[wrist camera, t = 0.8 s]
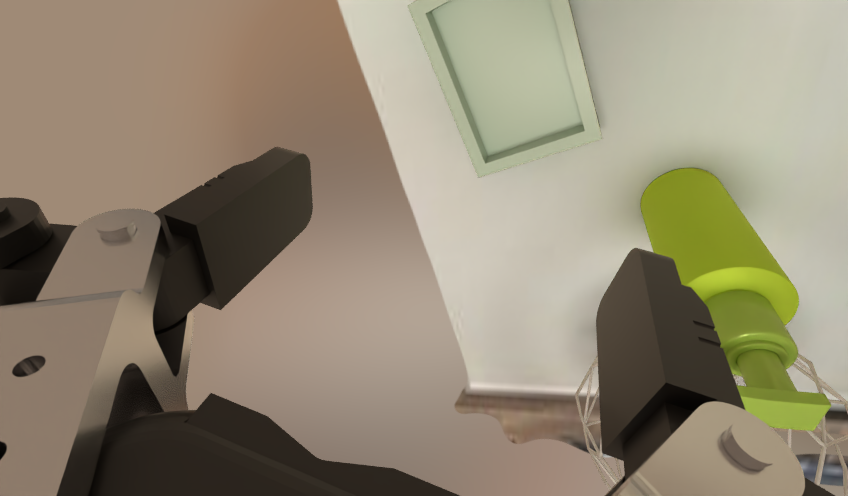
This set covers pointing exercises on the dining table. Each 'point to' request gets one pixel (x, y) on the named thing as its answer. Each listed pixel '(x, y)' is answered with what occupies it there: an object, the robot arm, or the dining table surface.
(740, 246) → the soap dispenser
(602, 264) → the dining table surface
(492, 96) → the tray
